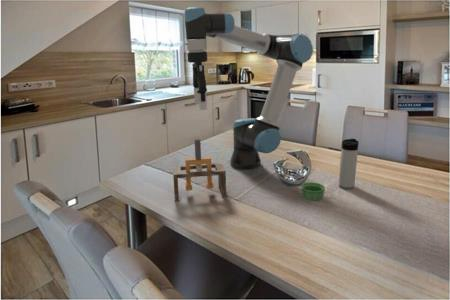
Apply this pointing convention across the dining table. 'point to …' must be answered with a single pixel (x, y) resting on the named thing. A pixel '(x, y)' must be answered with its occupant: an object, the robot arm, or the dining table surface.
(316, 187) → the ramekin
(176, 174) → the brown frame with crossbar
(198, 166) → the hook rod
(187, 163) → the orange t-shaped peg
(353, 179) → the travel mug
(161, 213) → the dining table surface
